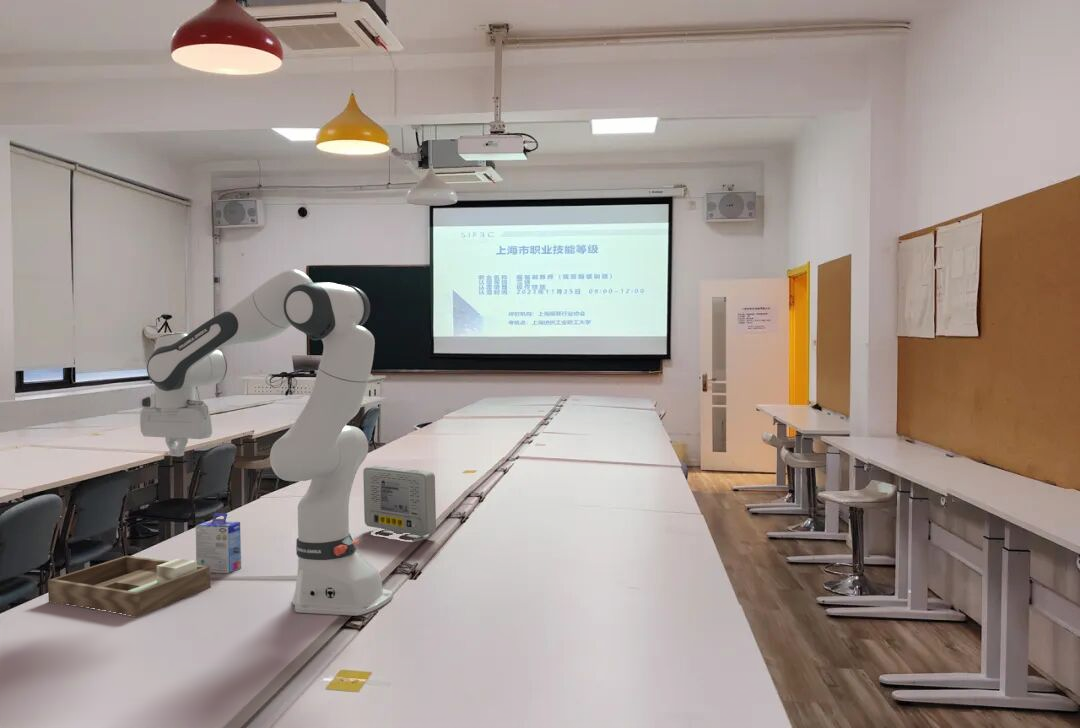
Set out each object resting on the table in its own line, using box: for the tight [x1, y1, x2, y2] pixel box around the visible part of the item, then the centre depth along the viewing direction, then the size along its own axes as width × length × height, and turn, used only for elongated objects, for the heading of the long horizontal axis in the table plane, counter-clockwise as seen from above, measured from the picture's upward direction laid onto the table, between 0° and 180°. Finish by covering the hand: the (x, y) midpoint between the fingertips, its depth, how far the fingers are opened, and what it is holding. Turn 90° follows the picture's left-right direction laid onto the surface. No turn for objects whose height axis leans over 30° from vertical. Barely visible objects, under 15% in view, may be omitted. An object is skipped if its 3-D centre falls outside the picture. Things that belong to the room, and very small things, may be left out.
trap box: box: [47, 555, 211, 618], centre depth 170 cm, size 28×20×5 cm
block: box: [157, 558, 197, 583], centre depth 171 cm, size 6×6×4 cm
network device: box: [362, 465, 437, 543], centre depth 218 cm, size 26×9×20 cm, turn 58°
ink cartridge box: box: [195, 512, 242, 574], centre depth 187 cm, size 10×6×14 cm, turn 78°
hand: (177, 455), depth 178 cm, fingers closed
